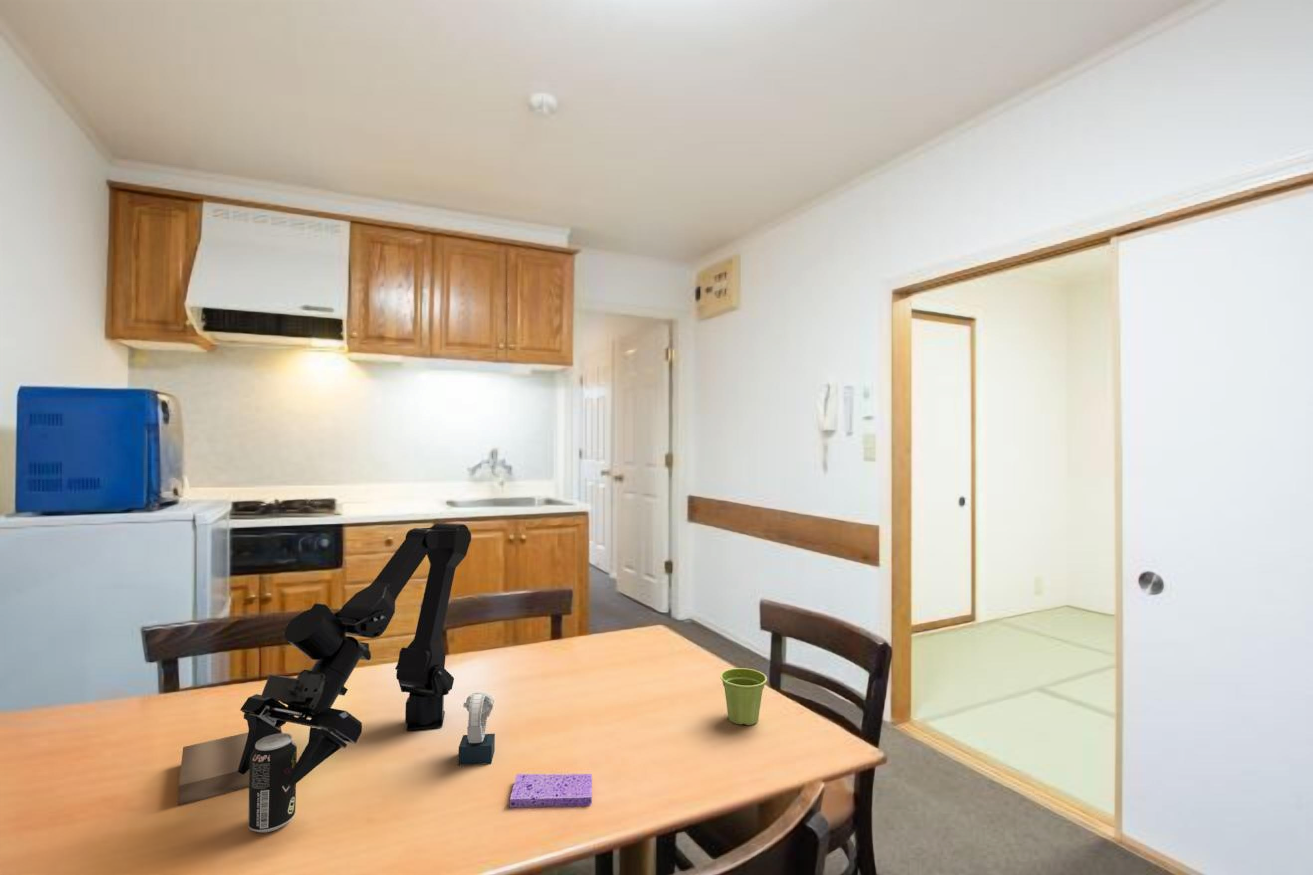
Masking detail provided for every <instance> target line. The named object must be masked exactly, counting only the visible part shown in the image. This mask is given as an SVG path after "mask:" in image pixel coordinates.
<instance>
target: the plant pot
mask: <svg viewBox="0 0 1313 875" xmlns="http://www.w3.org/2000/svg"><path fill="white" fill-rule="evenodd" d="M719 677H720V680H721V681H722V685H723V687H724V696H725V701H726V702H725V703H726V711H727V718H728V720H729V721H730V722H731V723H732V724H733V723H734V725H738V724H739V726H741V725H747V726H751V725H754V724H757V723H758V721H759V719H760V718H759V717H760V712H761V711H760V710H761V704H762V699H763V697H762V696H763V690H764V689H765V684H766V683H767V681H768V677H767V676H766V674H765V673H763V672H761V671H758V670H756V669H751V668H743V667H741V668H740V667H739V668H736V667H735V668H729V669H726V670H723V671H722V672H721V673H720V676H719Z"/></svg>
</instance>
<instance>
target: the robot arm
mask: <svg viewBox="0 0 1313 875" xmlns="http://www.w3.org/2000/svg"><path fill="white" fill-rule="evenodd" d="M471 541H472V533H471V531H470V530H469V527H468V526H467V525H466V524H464V523H463V524H460V523H449V522H448V523H446V522H436V523H434V524H433V525H432V526H430V527H420V528H419V527H414V528H412V529H409V530H408V531H407V532H406V534H405V539H404V540H403V541H402V543H401V544H400V545H399V547H398V549H397V550H396V551H395V552H394V554H393V555H392V557H391V558H390V559H389V561H387V563H386V564H385V565H384V567H383V568H382V569H381V571H380V572H379V573H378V575H377V576H376V577H375V579H374V580H373V581H372V582H371V584H369V585H368V586H366V587H365V588H363V589H361V590H359V591H358V592H356V593H355V594H354V595H353V596H352V597H351V598H350V599H349V600H347V601H346V602H345V603H344V604H343V606H342V607H341V609H338V610H336V611H335V612H332V610H331V609H330V607H329V606H328V605H326V604H324V603H317V602H315V603H314V604H313V605H312V607H311V608H310V609H307V610H304V611H303V612H301V613H299V614H298V615H296V617H294V618H293V619H291V620H290V621H289V622H288V624H287V626H286V628H285V630H284V637H285V638H284V639H286V641H287V642H289V644H291V645H292V646H293V647H295V648H296V649H297V650H298V651H300V653H302V654H303V655H304V656H306V657H307V658H309V659H310V660H313V661H314V663H313V665H312V667H311V668H310V670H309V669H303V670H302V671H300V672H299V673H298V675H297V677H293V676H285V675H276V674H269V675H268V676H267V680H266V682H265V685H264V686H263V690H262V693H261V694H258V693H255V694H253V695H251V696H249V697H247V699H246V700H245V702H244V703H243V705H242V706H241V707H240V710H239V711H241V712H242V713H244V714H243V719H244V720H246V722H247V727H248V730H247V731H248V732H247V733H248V736H247V741H246V744H245V748H244V751H243V754H242V758H241V761H240V764H239V768H238V773H240V774H242V775H244V774H245V773H246V772H247V771H248V770H249V769H250V756H251V753H252V752H253V750H254V749H255V744H256V743H257V741H259V740H260V739H262V738H264V737H266V736H269V735H273V734H279V733H281V731H280V730H278V729H277V728H279V727H281V728H282V726H284V725H286V723H292V724H295V725H296V724H297V725H301V726H305V727H306V726H307V727H309V734H308V742H307V744H306V746H305V748H304V749H303V751H302V753H301V755H300V756H299V759H297V763H296V765H295V767H294V769H293V770H292V772H291V774H290V777H289V779H288V781H287V785H289V786H291V787H292V786H294V785H295V784H296V785H297V783H299V782H300V781H301V780H303V779H304V778H305V777H306V776H307V775H309V774H310V773H311V772H312V771H313V770H314V769H315V768H317V766H319V765H320V764H322V763H323V762H324V761H326V759H328V758H329V757H330V756H332V755H333V754H335V753H336V752H337V751H339V750H340V749H346V748H347V746H348V744H347V743H349V744H354V745H355V744H356V743H357V742H358V740H359V738H360V736H361V734H362V732H363V723H362V721H360V720H359V719H358V718H356V717H355V716H354V715H352V714H351V713H350V712H348V711H347V710H344V709H343V710H342V709H338V708H332V707H333V705H334V703H335V702H336V700H337V698H338V697H339V696H345V695H346V693H347V692H348V691H349V690H348V688H347V687H345V685H346V683H347V681H348V679H349V678H350V677H351V674H352V673H353V671H354V669H355V668H356V666H357V665H358V663H359V661H360V660H365V661H370V660H371V658H372V653H371V651H370V644H369V643H368V642H361V641H359V640H358V639H357V638H356V637H360V638H368V639H369V638H370V639H375V638H377V637H378V638H379V637H380V636H382V635H383V634H384V632H385V631H386V629H387V628H388V626H389V624H390V623H391V620H392V618H393V616H394V615H395V612H396V601H397V599H398V597H399V595H400V593H401V592H402V591H403V589H404V588H405V586H406V585H407V584H408V582H409V580H410V579H411V578H412V576H413V575H414V574H415V572H416V571H417V569H418V568H419V566H420V565H421V564H422V562H423V561H424V559H425V557H427V558H428V563H429V568H428V573H427V574H428V575H427V577H426V578H427V579H426V584H425V588H424V593H423V596H422V597H423V598H422V602H421V606H420V611H419V616H418V620H417V625H416V630H415V633H414V638H413V640H411V642H410V643H409V644H408V645H407V646H406V647H404V646H403V647H401V649H400V650H399V655H398V661H397V664H396V666H395V670H396V676H395V677H396V680H397V681H398V684H399V688H400V692H401V693H409V694H408V697H407V698H406V701H405V710H404V711H405V714H404V715H405V718H404V719H405V720H404V721H405V724H407V725H406V731H408V732H409V731H417V730H426V729H436V728H437V729H438V728H442V727H443V724H444V719H445V715H446V712H445V705H444V704H445V696H447V695H449V694H450V693H449V692H450V691H452V689H453V685H454V682H455V681H454V680H455V677H453V675H452V674H451V673H450V672H449V671H448V670H447V669H446V668H445V666H446V657H447V656H446V654H445V651H444V648H443V644H442V635H443V631H444V626H445V620H446V615H447V611H448V607H449V602H450V596H451V591H452V588H453V583H454V578H455V573H456V572H455V571H456V568H457V567H458V566H459V565H460V564H461V563H462V561H463V560H464V559H465V558H466V556H467V554H468V550H469V548H470V544H471ZM354 636H355V637H354ZM275 727H276V728H275Z"/></svg>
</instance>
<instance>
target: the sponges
mask: <svg viewBox="0 0 1313 875" xmlns="http://www.w3.org/2000/svg"><path fill="white" fill-rule="evenodd" d="M592 798H593V773H581V774H579V773H568V774H562V773H561V774H559V773H557V774H556V773H552V774H551V773H550V774H545V773H542V774H541V773H533V774H529V773H517V774H515V779H514V782H513V785H512V791H511V794H510V798H509V801H510V802H509V803H510V804H509V807H510V808H511V809H512V808H530V807H531V808H532V807H533V808H541V807H543V808H544V807H586V806H587V807H588V806H590V805H593V799H592Z"/></svg>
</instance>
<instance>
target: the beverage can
mask: <svg viewBox="0 0 1313 875" xmlns="http://www.w3.org/2000/svg"><path fill="white" fill-rule="evenodd" d="M297 747H298V746H297V744H296V742H294V740H293V735H291V734H290V733H286V732H285V733H284V732H282V733H279V734H273V735H269V736H266V737H264V738H262V739H260V740H259V741H257V743H256V744H255V749H254V750H253V752H252V753H251V756H250V770H249V787H248V811H247V812H248V815H247V824H248V825H247V827H248V828H249V829H250V830H251V831H252V832H256V833H257V832H258V833H262V834H263V833H265V834H266V833H271V832H274V831H277V830H279V829H281V828H283V827H284V826H285V825H287V824H288V823H289V822H290V821H291V820H292V819H293V818H294V817H295V816H296V800H297V799H296V797H297V794H296V793H297V783H296V784H295V785H294V786H292V787H291V786H289V785H287V781H288V779H289V777H290V774H291V772H292V770H293V769H294V767H295V765H296V763H297V762H298V758H297V757H298V755H297V754H298V753H297V752H298V748H297Z"/></svg>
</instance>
